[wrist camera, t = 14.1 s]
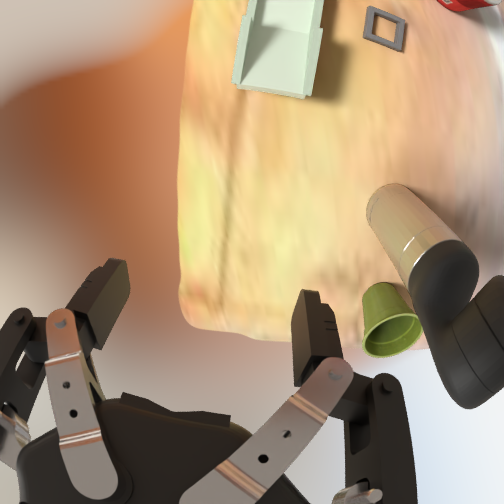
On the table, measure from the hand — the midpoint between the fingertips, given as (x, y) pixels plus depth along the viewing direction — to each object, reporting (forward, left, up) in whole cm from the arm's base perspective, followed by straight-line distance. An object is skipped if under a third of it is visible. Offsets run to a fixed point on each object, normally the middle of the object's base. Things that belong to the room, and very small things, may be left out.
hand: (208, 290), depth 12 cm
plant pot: (-29, +23, -30) cm, 48 cm away
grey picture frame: (-16, -23, -30) cm, 41 cm away
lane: (-2, -25, -30) cm, 39 cm away
